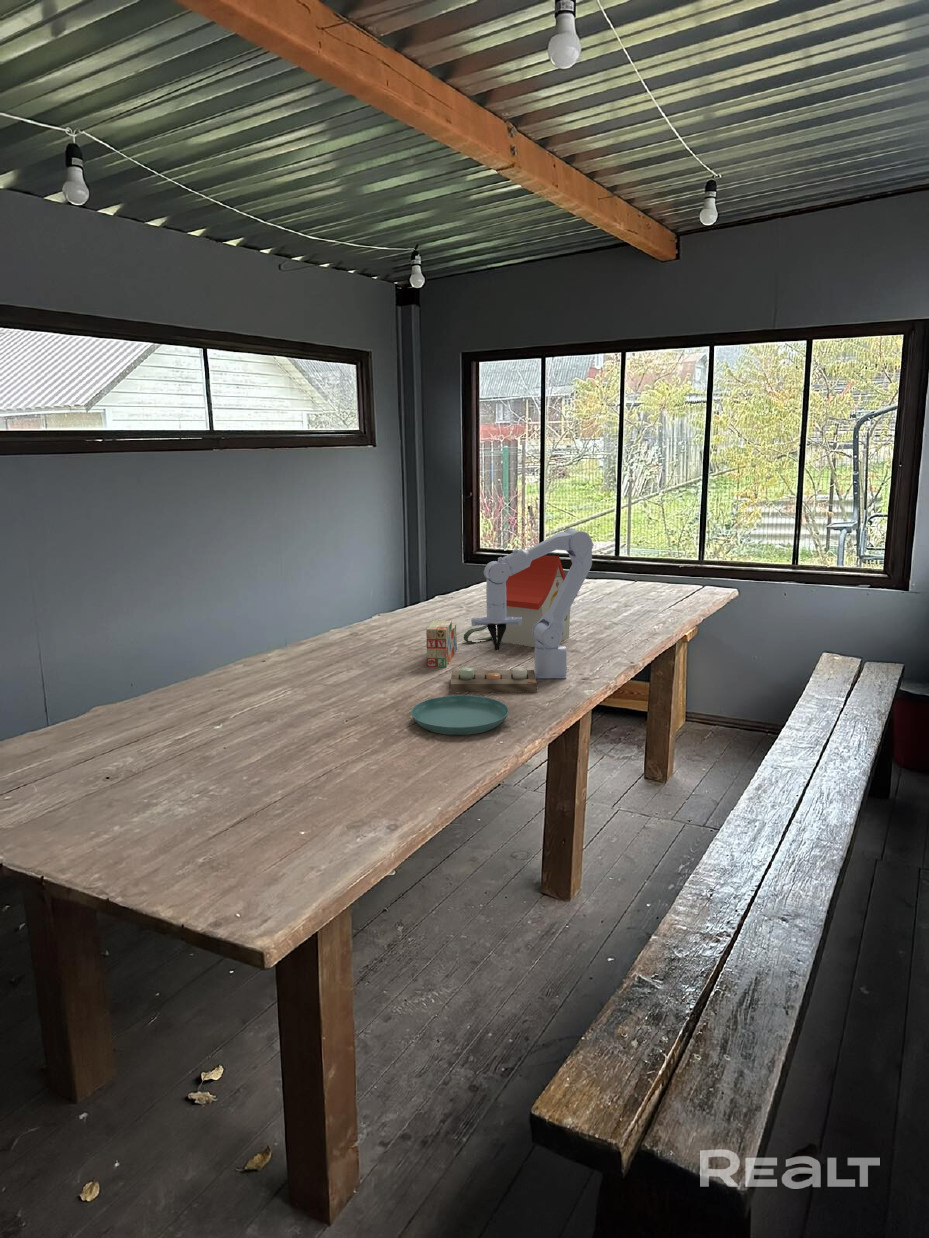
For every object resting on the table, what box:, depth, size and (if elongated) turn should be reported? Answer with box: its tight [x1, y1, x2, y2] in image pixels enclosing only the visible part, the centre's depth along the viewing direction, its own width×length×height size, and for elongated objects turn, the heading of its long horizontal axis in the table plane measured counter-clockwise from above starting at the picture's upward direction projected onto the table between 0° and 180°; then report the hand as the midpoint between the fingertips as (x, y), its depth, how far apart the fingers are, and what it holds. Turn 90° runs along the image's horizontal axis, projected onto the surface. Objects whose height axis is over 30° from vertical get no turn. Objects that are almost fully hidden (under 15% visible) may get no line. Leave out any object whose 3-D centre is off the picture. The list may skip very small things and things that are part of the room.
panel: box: [450, 669, 538, 693], centre depth 240 cm, size 24×14×3 cm, turn 89°
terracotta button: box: [486, 673, 500, 679], centre depth 240 cm, size 4×4×3 cm
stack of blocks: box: [425, 620, 458, 668], centre depth 269 cm, size 21×6×12 cm, turn 172°
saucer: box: [410, 694, 509, 736], centre depth 210 cm, size 24×24×3 cm
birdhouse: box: [463, 555, 572, 648], centre depth 293 cm, size 36×30×30 cm
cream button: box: [512, 666, 528, 679], centre depth 239 cm, size 4×4×3 cm
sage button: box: [459, 667, 475, 679], centre depth 240 cm, size 4×4×3 cm
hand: (496, 649), depth 245 cm, fingers closed
